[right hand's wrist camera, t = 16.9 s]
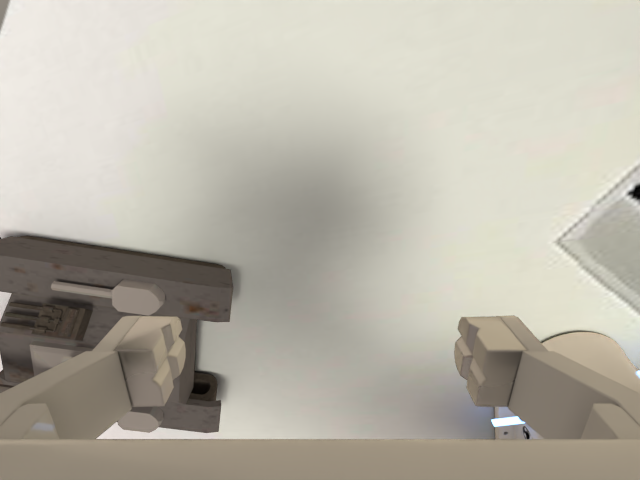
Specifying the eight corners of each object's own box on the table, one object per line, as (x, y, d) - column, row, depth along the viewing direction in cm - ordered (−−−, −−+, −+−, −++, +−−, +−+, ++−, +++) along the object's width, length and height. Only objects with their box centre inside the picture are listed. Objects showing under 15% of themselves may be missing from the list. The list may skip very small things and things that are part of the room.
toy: (242, 265, 41) (202, 354, 27) (229, 399, 48) (192, 523, 34) (8, 229, 39) (-164, 303, 25) (31, 373, 46) (-93, 493, 33)
